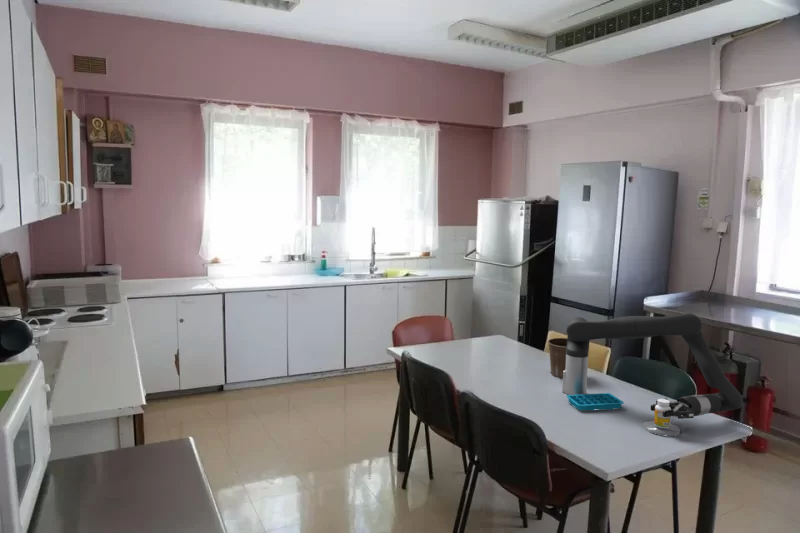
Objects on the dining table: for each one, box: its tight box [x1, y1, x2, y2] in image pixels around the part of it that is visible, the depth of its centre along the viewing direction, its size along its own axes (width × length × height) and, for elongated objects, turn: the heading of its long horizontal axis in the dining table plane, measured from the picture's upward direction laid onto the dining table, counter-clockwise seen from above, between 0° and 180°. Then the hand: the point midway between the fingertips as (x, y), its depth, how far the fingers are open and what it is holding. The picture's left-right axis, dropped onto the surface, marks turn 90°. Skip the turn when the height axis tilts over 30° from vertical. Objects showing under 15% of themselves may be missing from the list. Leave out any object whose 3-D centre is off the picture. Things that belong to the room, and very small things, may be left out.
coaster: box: [643, 420, 681, 437], centre depth 201 cm, size 12×12×1 cm
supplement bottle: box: [653, 398, 672, 429], centre depth 201 cm, size 5×5×10 cm
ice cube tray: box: [566, 392, 625, 411], centre depth 224 cm, size 12×20×3 cm, turn 99°
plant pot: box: [547, 337, 567, 379], centre depth 262 cm, size 16×16×16 cm
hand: (657, 411), depth 200 cm, fingers closed on supplement bottle, 5 cm apart
